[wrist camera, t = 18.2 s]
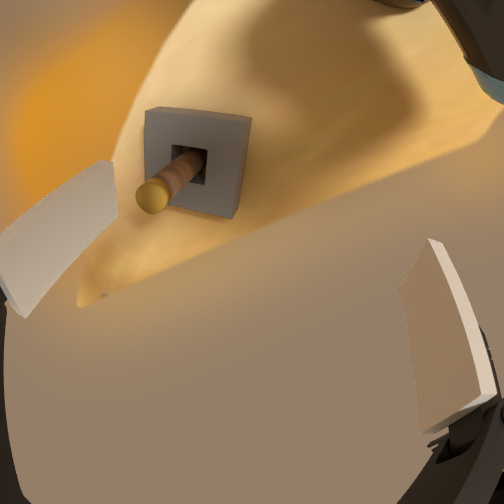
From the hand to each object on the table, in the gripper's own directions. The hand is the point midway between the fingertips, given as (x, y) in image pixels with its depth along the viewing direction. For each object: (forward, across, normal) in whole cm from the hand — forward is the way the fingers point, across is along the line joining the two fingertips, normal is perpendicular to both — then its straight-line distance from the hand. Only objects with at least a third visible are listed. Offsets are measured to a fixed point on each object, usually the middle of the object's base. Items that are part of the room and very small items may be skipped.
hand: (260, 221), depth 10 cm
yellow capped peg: (+33, -15, -11) cm, 38 cm away
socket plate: (+33, -15, -11) cm, 38 cm away
